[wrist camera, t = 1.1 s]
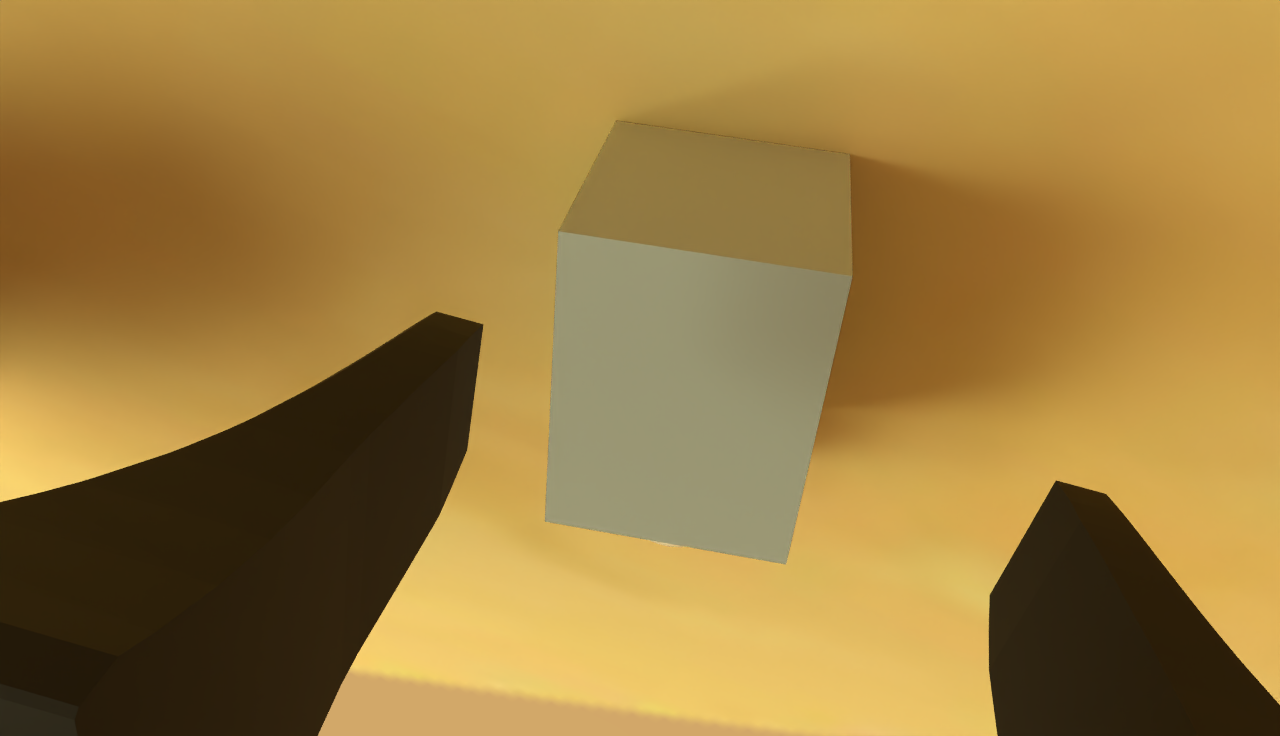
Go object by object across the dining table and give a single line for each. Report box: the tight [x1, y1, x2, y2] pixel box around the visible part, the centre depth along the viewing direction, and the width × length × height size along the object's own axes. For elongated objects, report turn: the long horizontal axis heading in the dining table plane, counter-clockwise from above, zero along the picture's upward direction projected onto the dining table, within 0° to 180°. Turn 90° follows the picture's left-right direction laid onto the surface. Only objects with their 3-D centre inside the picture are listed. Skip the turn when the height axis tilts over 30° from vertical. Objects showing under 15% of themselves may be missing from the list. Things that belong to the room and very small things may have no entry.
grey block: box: [545, 121, 853, 564], centre depth 20 cm, size 4×8×5 cm, turn 175°
